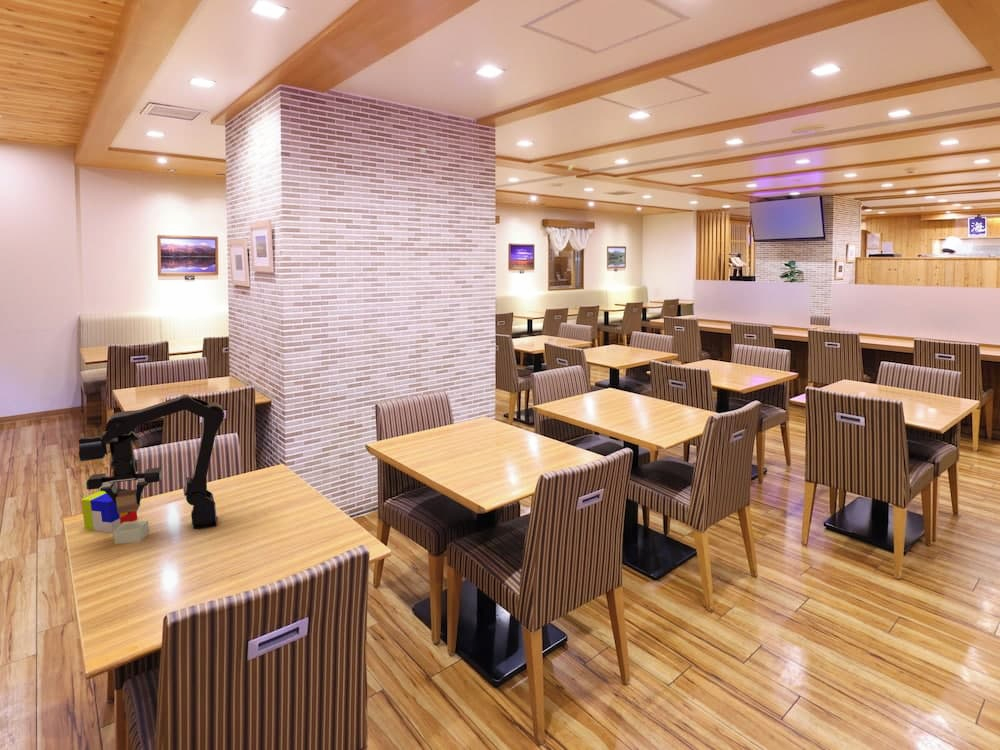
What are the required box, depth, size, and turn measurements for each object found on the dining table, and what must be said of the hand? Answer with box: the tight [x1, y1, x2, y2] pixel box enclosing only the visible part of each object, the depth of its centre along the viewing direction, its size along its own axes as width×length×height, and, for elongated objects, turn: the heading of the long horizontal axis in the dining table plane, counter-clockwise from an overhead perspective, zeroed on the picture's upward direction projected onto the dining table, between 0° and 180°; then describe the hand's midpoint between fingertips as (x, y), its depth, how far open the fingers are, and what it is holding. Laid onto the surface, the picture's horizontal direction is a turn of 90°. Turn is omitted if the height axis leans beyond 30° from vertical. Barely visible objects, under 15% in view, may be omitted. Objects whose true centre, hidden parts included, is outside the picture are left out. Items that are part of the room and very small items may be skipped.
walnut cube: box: [116, 488, 141, 513], centre depth 183 cm, size 5×5×5 cm
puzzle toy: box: [80, 488, 138, 533], centre depth 193 cm, size 10×10×10 cm
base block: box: [112, 520, 150, 545], centre depth 185 cm, size 7×7×4 cm
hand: (128, 505), depth 183 cm, fingers closed on walnut cube, 5 cm apart
